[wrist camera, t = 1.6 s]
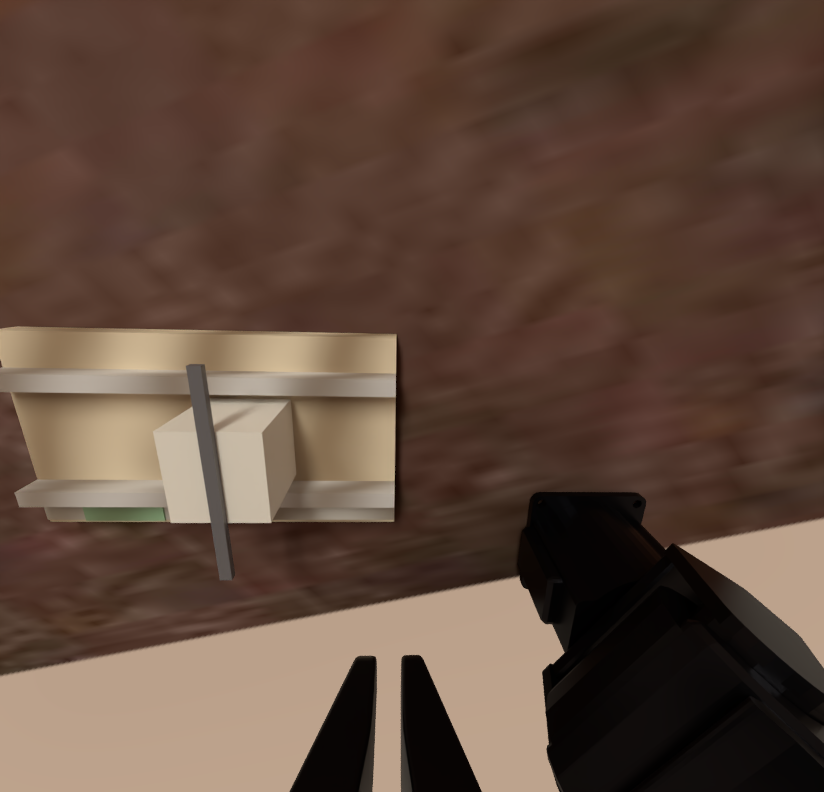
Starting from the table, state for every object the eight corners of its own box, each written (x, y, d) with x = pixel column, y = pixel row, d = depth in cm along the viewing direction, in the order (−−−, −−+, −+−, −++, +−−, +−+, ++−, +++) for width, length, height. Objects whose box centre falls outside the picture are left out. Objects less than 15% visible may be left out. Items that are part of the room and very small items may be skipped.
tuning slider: (286, 345, 17) (252, 366, 13) (299, 517, 20) (274, 579, 16) (197, 343, 17) (133, 364, 13) (222, 517, 20) (177, 580, 16)
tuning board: (396, 334, 19) (396, 342, 16) (394, 509, 22) (393, 536, 19) (17, 326, 18) (-39, 334, 16) (69, 508, 21) (29, 536, 19)
